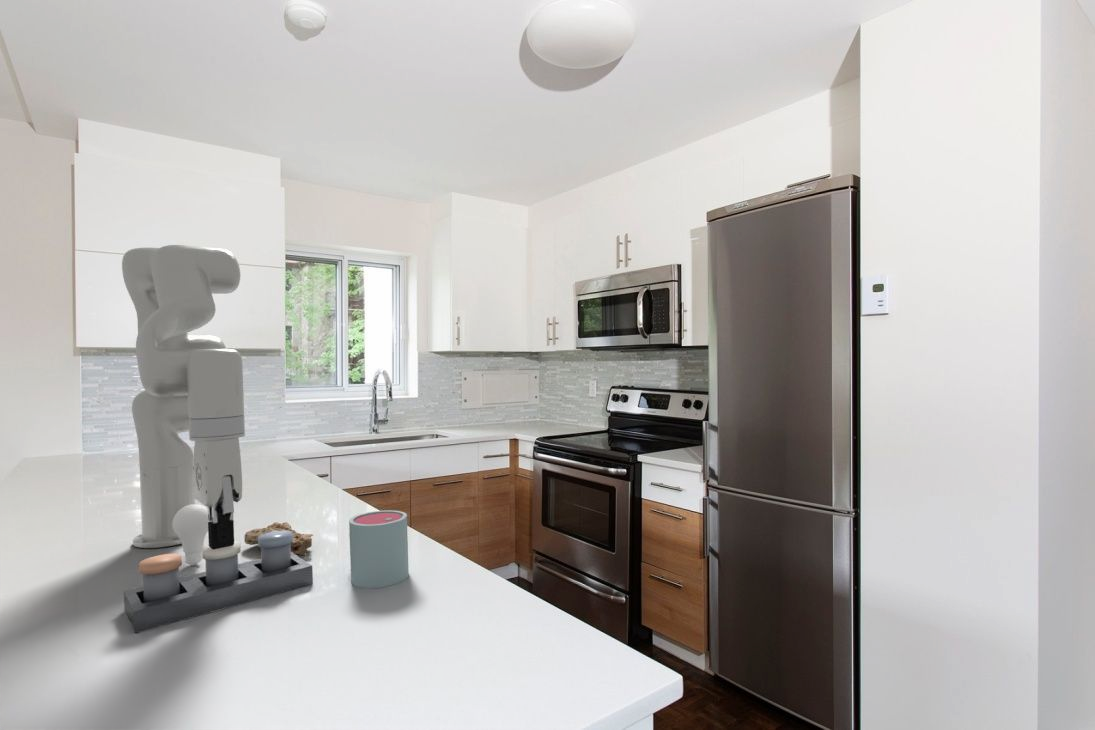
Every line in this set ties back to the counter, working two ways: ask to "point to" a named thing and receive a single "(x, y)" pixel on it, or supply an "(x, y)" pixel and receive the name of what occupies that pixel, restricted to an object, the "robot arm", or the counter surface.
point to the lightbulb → (192, 531)
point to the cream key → (221, 564)
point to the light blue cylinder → (275, 550)
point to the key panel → (214, 593)
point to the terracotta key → (160, 576)
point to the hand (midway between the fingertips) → (221, 546)
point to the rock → (299, 540)
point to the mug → (378, 548)
